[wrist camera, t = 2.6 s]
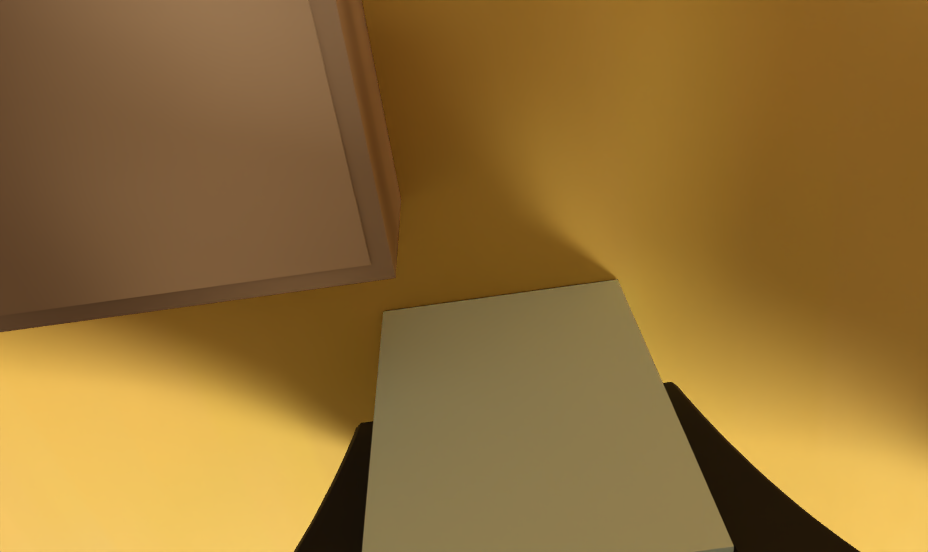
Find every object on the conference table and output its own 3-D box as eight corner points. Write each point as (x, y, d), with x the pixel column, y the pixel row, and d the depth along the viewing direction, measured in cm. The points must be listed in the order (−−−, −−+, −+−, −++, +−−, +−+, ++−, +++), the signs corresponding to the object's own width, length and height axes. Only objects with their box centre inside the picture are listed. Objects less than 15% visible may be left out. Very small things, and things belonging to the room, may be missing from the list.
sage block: (617, 279, 14) (734, 547, 8) (621, 449, 16) (714, 738, 11) (383, 311, 14) (358, 592, 9) (421, 475, 16) (419, 773, 11)
